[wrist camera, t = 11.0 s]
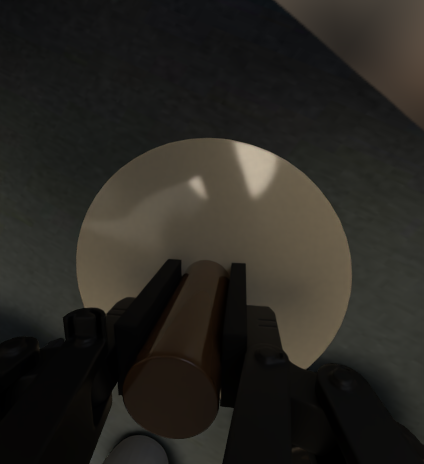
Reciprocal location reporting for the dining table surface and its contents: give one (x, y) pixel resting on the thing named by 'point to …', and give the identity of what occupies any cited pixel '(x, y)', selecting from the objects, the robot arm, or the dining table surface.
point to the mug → (137, 452)
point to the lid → (212, 266)
